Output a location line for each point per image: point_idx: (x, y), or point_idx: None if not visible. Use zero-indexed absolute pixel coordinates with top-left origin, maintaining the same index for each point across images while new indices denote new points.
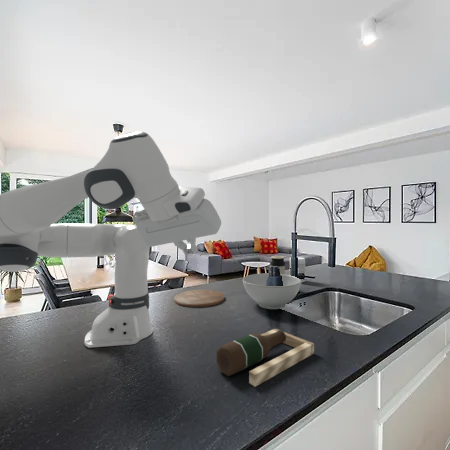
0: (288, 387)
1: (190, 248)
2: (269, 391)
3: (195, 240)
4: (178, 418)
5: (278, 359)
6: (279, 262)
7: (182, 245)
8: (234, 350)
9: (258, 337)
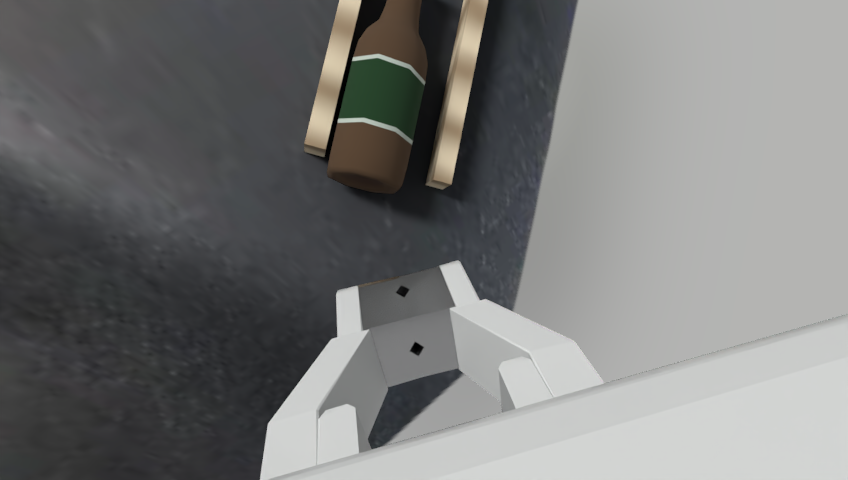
0: (496, 151)
1: (462, 366)
2: (472, 186)
3: (529, 328)
4: None
5: (461, 91)
6: None
7: (365, 405)
8: (393, 162)
9: (410, 59)
